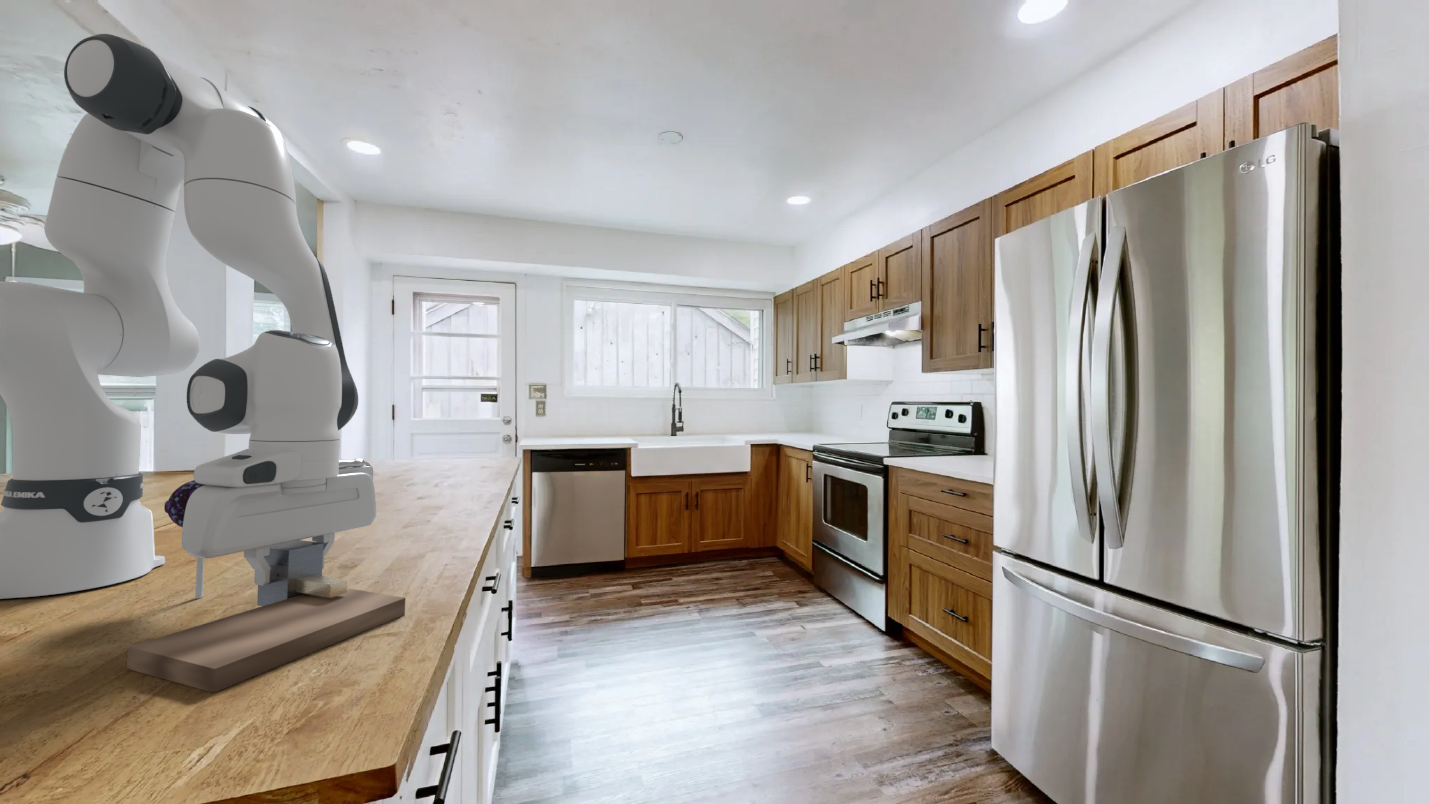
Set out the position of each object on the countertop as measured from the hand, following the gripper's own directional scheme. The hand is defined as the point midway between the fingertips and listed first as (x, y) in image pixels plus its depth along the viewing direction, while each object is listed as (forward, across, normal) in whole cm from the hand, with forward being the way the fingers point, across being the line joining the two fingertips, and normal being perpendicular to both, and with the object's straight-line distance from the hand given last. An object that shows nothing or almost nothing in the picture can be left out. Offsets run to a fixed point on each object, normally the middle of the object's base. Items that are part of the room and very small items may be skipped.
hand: (290, 576), depth 66 cm
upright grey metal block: (+3, 0, +3) cm, 4 cm away
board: (+4, +6, +9) cm, 11 cm away
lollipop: (+4, +2, -13) cm, 14 cm away
